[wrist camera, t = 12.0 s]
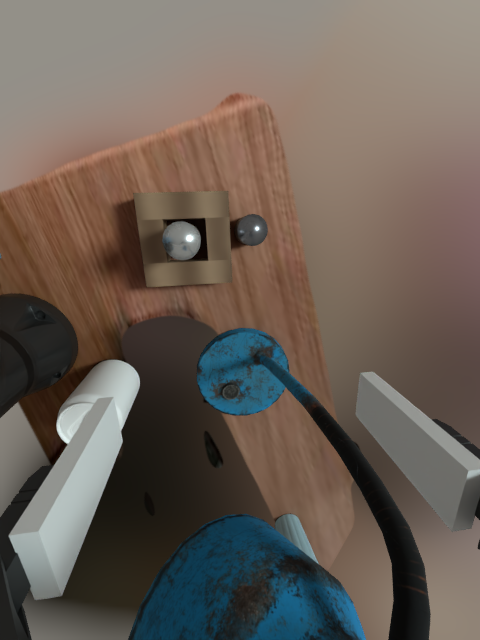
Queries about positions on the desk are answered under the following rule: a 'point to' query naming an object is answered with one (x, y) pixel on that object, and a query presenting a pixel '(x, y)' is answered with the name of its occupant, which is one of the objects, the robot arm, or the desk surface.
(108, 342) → the desk surface
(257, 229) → the stub pin
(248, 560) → the desk lamp
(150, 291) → the desk surface
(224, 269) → the tan square frame
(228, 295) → the desk surface
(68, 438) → the beverage can
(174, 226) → the tall pin
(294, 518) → the cup
